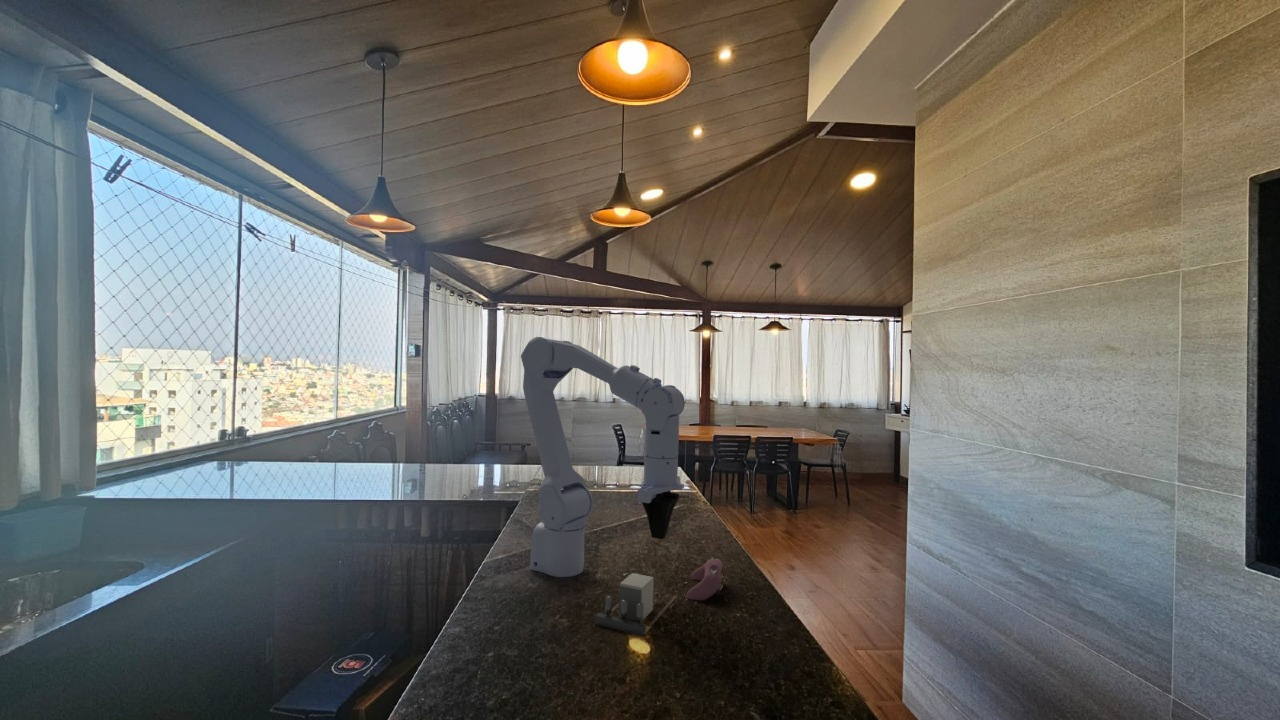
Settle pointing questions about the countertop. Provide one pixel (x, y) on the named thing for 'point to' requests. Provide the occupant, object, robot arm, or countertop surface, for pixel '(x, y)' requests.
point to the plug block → (637, 594)
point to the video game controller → (706, 580)
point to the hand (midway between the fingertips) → (658, 537)
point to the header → (622, 618)
